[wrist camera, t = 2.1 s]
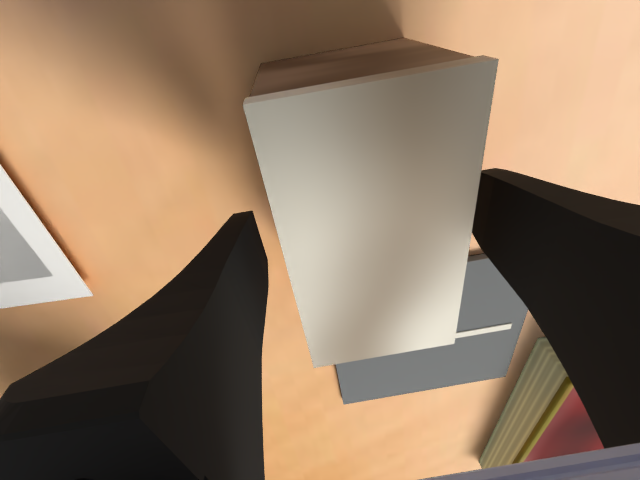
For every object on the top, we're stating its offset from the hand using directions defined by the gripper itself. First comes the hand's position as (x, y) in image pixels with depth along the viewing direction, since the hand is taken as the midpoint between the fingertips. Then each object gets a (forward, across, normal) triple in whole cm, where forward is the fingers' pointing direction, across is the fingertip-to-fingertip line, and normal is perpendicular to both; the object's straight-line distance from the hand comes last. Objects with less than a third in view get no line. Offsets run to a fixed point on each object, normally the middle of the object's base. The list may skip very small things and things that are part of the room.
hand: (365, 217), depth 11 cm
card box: (+4, 0, 0) cm, 4 cm away
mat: (+4, -4, +12) cm, 13 cm away
